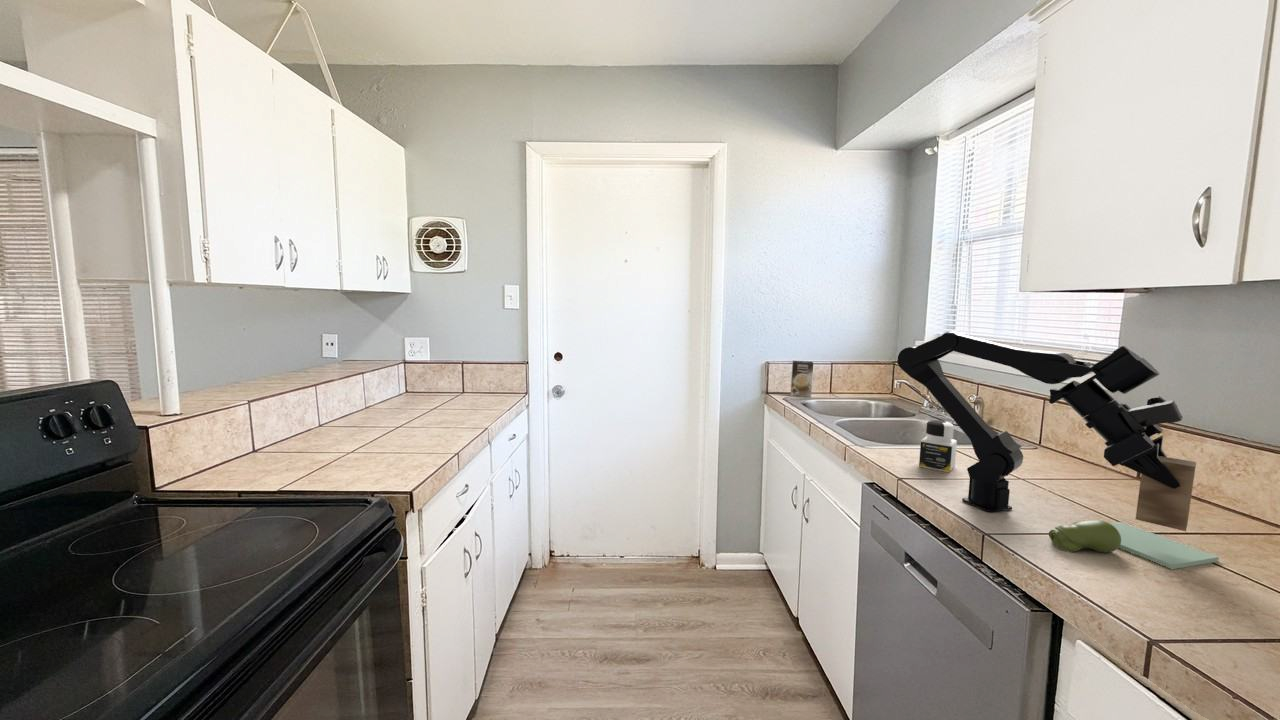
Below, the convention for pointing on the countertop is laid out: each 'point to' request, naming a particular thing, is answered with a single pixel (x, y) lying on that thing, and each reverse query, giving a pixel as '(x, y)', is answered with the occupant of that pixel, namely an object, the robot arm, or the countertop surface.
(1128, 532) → the mat
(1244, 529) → the countertop surface
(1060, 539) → the pear
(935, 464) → the medicine bottle
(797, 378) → the coffee box
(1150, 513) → the block
